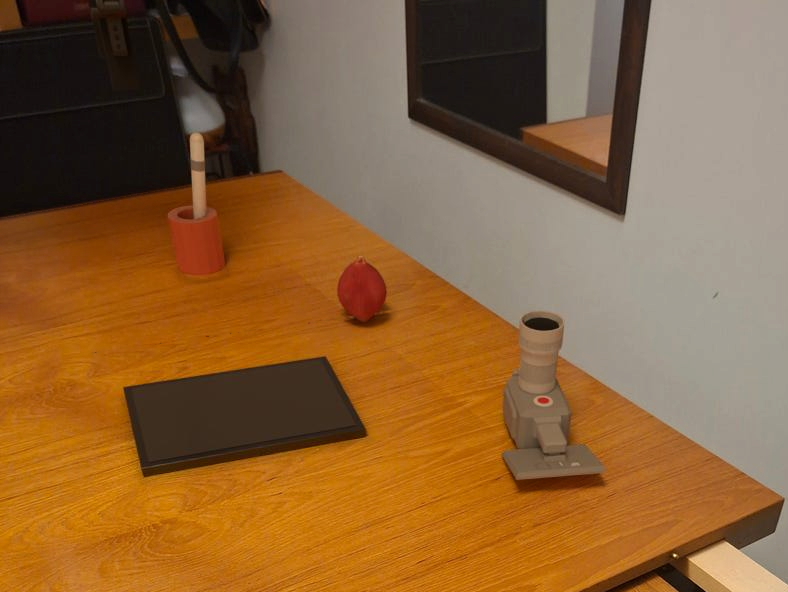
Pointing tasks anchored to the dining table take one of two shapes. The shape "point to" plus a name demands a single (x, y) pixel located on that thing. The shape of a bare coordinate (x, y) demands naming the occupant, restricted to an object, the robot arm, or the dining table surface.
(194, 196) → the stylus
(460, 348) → the dining table surface
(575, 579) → the dining table surface
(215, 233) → the pen pot
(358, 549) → the dining table surface
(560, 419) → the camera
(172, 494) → the dining table surface
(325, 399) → the tablet
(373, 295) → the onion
